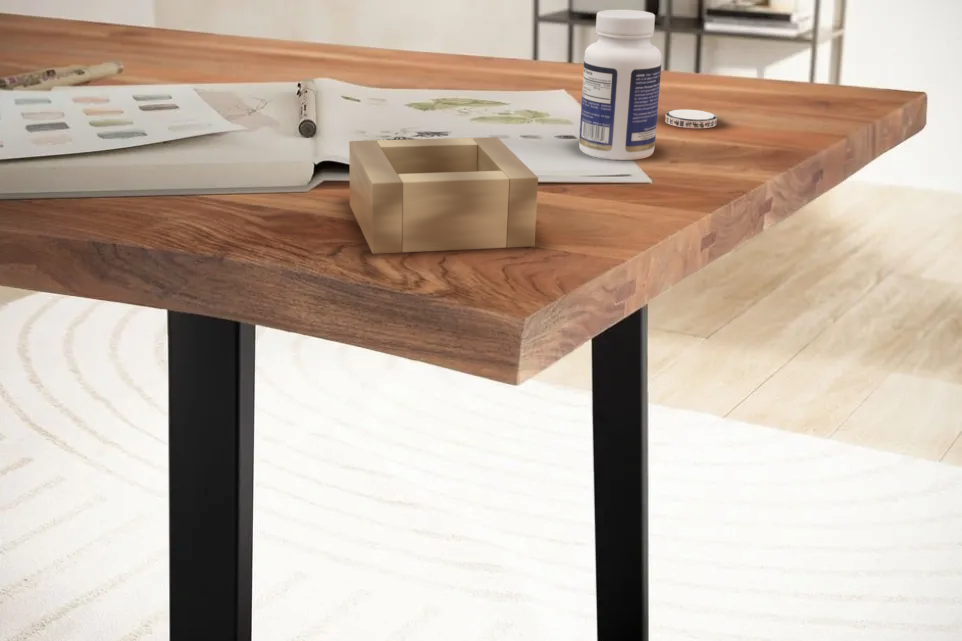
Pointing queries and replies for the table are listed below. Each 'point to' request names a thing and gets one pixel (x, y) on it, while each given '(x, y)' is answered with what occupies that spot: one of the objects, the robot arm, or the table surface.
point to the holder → (441, 194)
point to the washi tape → (691, 118)
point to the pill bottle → (620, 87)
